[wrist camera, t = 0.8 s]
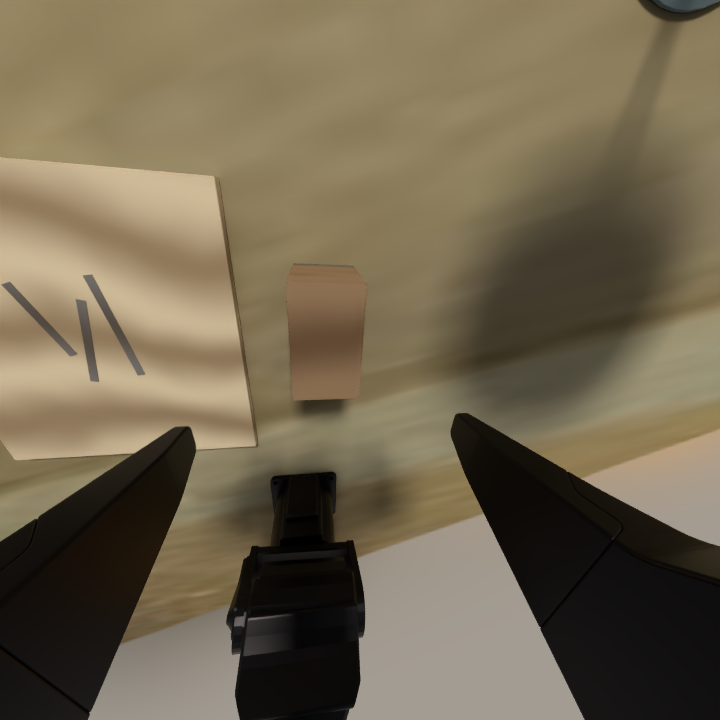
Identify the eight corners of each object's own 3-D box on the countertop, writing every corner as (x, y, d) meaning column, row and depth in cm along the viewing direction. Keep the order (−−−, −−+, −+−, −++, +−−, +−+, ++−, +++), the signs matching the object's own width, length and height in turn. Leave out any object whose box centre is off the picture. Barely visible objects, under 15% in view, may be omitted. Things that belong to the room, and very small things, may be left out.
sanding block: (348, 355, 22) (358, 398, 17) (298, 355, 22) (293, 400, 16) (352, 265, 19) (367, 284, 14) (294, 263, 18) (285, 282, 13)
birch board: (257, 439, 25) (255, 446, 24) (25, 452, 22) (14, 460, 21) (218, 178, 16) (213, 176, 15) (-192, 142, 13) (-223, 137, 12)
